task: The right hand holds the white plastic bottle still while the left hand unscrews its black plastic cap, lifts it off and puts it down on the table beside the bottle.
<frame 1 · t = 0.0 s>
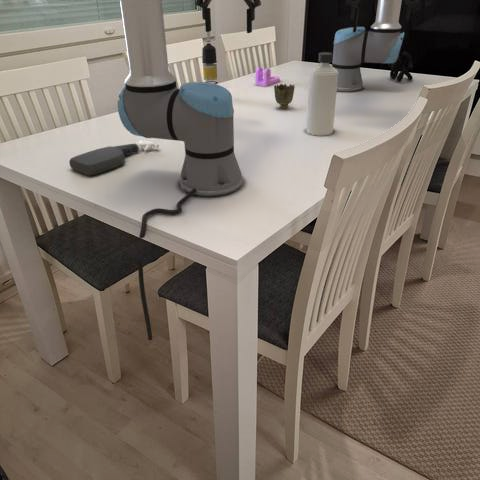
left hand: (228, 32, 139), 28 cm above the table, tool pointing down, fingers open, 13 cm apart
right hand: (377, 32, 133), 28 cm above the table, tool pointing down, fingers open, 13 cm apart
squiggle: (399, 80, 200), on the table
cup: (283, 108, 165), on the table
bracket: (268, 83, 201), on the table
spray bottle: (117, 159, 125), on the table
bottle: (319, 131, 143), on the table
cap: (325, 54, 130), point 23 cm above the table, screwed on, not yet turned
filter: (211, 98, 179), on the table
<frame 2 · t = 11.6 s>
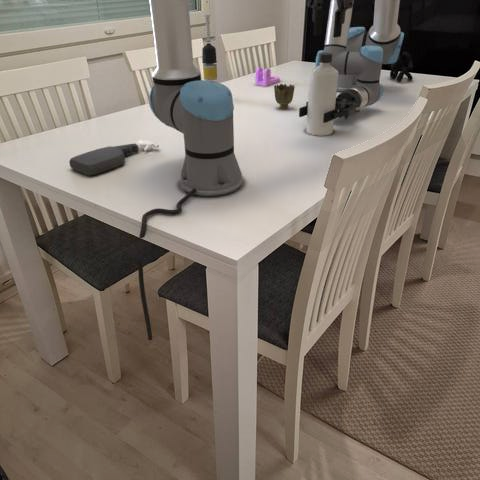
left hand: (327, 35, 128), 28 cm above the table, tool pointing down, fingers open, 6 cm apart
right hand: (312, 115, 137), 6 cm above the table, tool horizontal, fingers closed on bottle, 8 cm apart
bottle: (319, 131, 143), on the table, touching right hand
everything else where it was.
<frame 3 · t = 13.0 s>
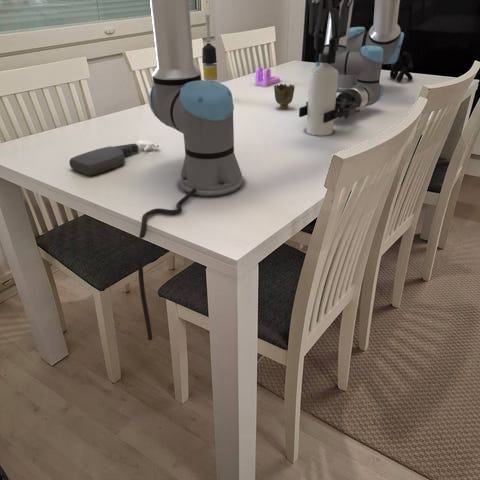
left hand: (324, 62, 132), 21 cm above the table, tool pointing down, fingers closed on cap, 4 cm apart
right hand: (312, 115, 137), 6 cm above the table, tool horizontal, fingers closed on bottle, 8 cm apart
bottle: (319, 131, 143), on the table, touching right hand
cap: (325, 54, 130), point 23 cm above the table, screwed on, not yet turned, touching left hand
everything else where it was.
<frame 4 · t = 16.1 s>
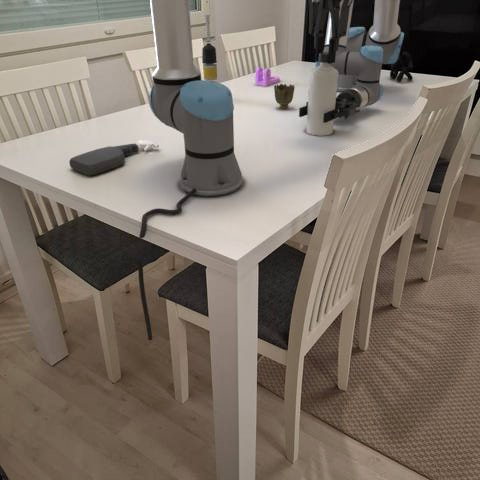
left hand: (324, 61, 132), 21 cm above the table, tool pointing down, fingers closed on cap, 4 cm apart
right hand: (312, 115, 137), 6 cm above the table, tool horizontal, fingers closed on bottle, 8 cm apart
bottle: (319, 131, 143), on the table, touching right hand
cap: (325, 54, 130), point 23 cm above the table, turned 83° so far, risen 0.1 cm, still on its thread, touching left hand
everything else where it was.
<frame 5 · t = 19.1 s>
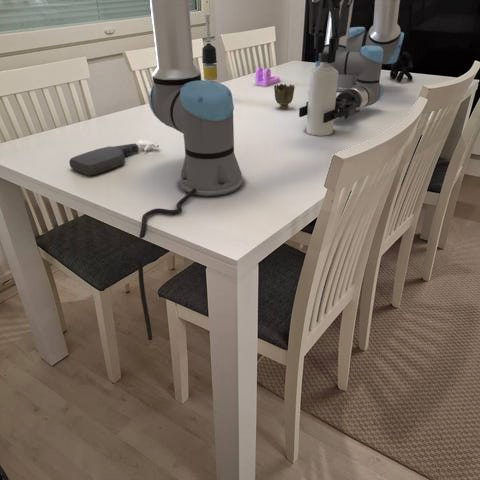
left hand: (324, 61, 131), 21 cm above the table, tool pointing down, fingers closed on cap, 4 cm apart
right hand: (312, 115, 137), 6 cm above the table, tool horizontal, fingers closed on bottle, 8 cm apart
bottle: (319, 131, 143), on the table, touching right hand
cap: (325, 53, 130), point 23 cm above the table, turned 166° so far, risen 0.2 cm, still on its thread, touching left hand
everything else where it was.
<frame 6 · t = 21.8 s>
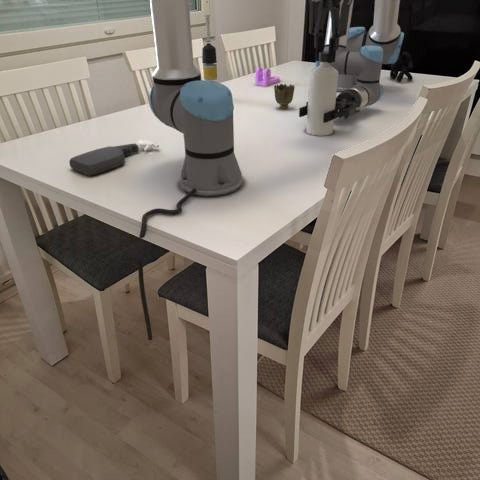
left hand: (325, 61, 131), 21 cm above the table, tool pointing down, fingers closed on cap, 4 cm apart
right hand: (312, 115, 137), 6 cm above the table, tool horizontal, fingers closed on bottle, 8 cm apart
bottle: (319, 131, 143), on the table, touching right hand
cap: (325, 53, 130), point 23 cm above the table, turned 249° so far, risen 0.3 cm, still on its thread, touching left hand
everything else where it was.
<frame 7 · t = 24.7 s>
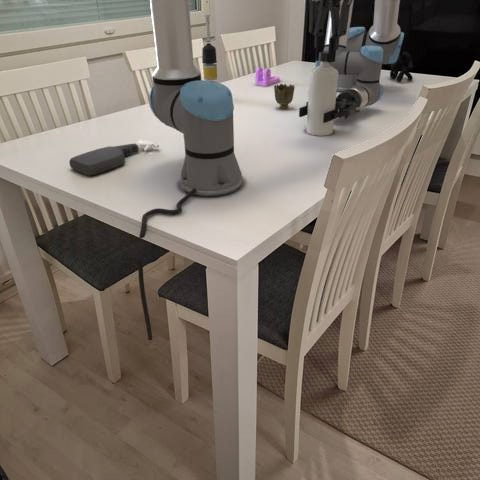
left hand: (325, 60, 131), 21 cm above the table, tool pointing down, fingers closed on cap, 4 cm apart
right hand: (312, 115, 137), 6 cm above the table, tool horizontal, fingers closed on bottle, 8 cm apart
bottle: (319, 131, 143), on the table, touching right hand
cap: (325, 53, 130), point 23 cm above the table, turned 332° so far, risen 0.3 cm, still on its thread, touching left hand
everything else where it was.
when the left hand's fingers open (1 cm above the table, at t = 34.7 s): cap stays where it is, point 2 cm above the table.
when the right hand's fingers open (6 cm above the table, at t = 36.1 s): bottle stays where it is, on the table.
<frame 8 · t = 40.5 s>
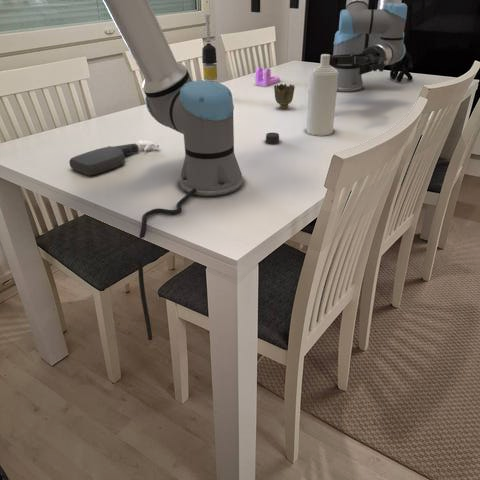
left hand: (275, 10, 116), 36 cm above the table, tool pointing down, fingers open, 13 cm apart
right hand: (341, 66, 139), 18 cm above the table, tool horizontal, fingers open, 13 cm apart
bottle: (319, 131, 143), on the table
cap: (272, 135, 134), point 2 cm above the table, off its thread
everything else where it was.
at the end: cap came off its thread; cap point 2.0 cm above the table; the left hand is holding nothing; the right hand is holding nothing; bottle tilted 0°; bottle moved 0.0 cm from its start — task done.
